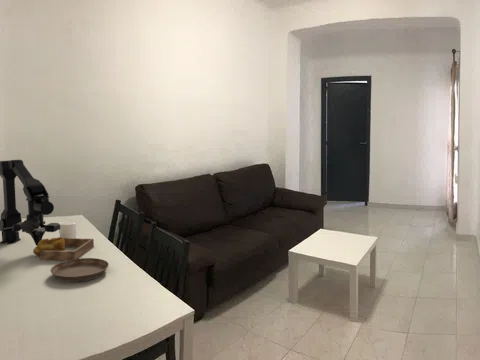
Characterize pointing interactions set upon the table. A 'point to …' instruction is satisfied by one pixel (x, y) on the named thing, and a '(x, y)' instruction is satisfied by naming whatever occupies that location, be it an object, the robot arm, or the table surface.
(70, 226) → the white cup
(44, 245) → the bread roll
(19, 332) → the table surface
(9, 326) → the table surface
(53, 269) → the plant saucer
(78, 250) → the box
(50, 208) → the robot arm
